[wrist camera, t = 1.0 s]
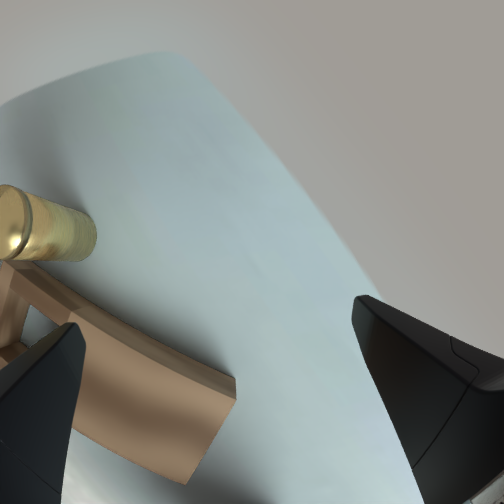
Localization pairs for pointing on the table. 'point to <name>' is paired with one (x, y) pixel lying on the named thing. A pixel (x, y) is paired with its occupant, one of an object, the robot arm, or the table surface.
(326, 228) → the table surface
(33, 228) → the disc
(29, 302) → the jig
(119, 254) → the table surface
